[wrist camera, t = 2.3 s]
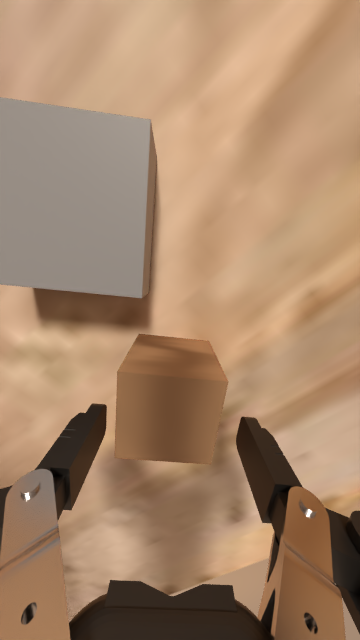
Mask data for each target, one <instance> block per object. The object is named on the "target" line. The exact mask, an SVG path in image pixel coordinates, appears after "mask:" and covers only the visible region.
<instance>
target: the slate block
mask: <svg viewBox="0 0 360 640" xmlns="http://www.w3.org/2000/svg"><path fill="white" fill-rule="evenodd" d="M156 162H157V155H156V149H155V143H154V137H153V131H152V125H151V120H150V119H143V118H136V117H130V116H123V115H116V114H109V113H103V112H96V111H89V110H82V109H76V108H69V107H62V106H56V105H49V104H42V103H35V102H29V101H22V100H15V99H8V98H2V97H0V284H1V285H11V286H22V287H32V288H42V289H52V290H62V291H73V292H83V293H93V294H103V295H113V296H124V297H134V298H143V297H144V296H145V295H146V294H148V293H149V282H150V265H151V248H152V231H153V214H154V197H155V179H156Z"/></svg>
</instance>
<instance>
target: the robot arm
mask: <svg viewBox="0 0 360 640" xmlns="http://www.w3.org/2000/svg"><path fill="white" fill-rule="evenodd" d="M106 410H107V407H106V405H105V404H91V406H90V407H89V409H88V410H87V412H86V413H79V414H78V415H76V416H75V417H74V418H73V419H71V421H70V422H69V423H68V425H67V426H66V428H65V430H63V432H62V433H61V434H60V437H58V439H57V440H56V441H55V443H54V444H53V446H52V447H51V448H50V450H49V451H48V453H47V454H46V455H45V457H44V458H43V460H42V461H41V462H40V464H39V465H38V467H37V468H36V469H35V470H34V471H31V472H29V473H27V474H26V475H24V476H23V477H21V478H20V479H19V480H18V481H17V482H16V483H15V484H14V485H12V486H10V487H7V488H3V489H0V640H346V636H345V625H344V614H343V604H342V598H343V600H344V602H345V604H346V606H347V608H348V611H349V613H350V615H351V617H352V619H353V621H354V623H355V625H356V627H357V629H358V632H359V633H360V511H354V512H352V514H351V516H350V518H348V517H346V516H343V515H341V514H338V513H336V512H334V511H331V510H329V509H327V508H325V507H324V506H323V504H322V503H321V502H320V500H319V499H318V498H317V497H316V496H315V495H314V494H312V493H311V492H310V491H308V490H306V489H304V488H303V487H302V485H301V483H300V482H299V480H298V478H297V476H296V475H295V473H294V471H293V470H292V468H291V466H290V465H289V463H288V461H287V459H286V458H285V456H284V455H283V453H282V451H281V449H280V448H279V447H278V444H277V442H276V441H275V439H274V437H273V436H272V435H271V434H270V433H269V432H268V431H267V430H266V429H265V428H261V426H260V425H259V423H258V421H257V419H256V418H251V417H242V418H241V420H240V424H239V428H238V433H237V437H236V445H237V450H238V453H239V456H240V458H241V461H242V464H243V467H244V470H245V473H246V476H247V479H248V482H249V485H250V488H251V491H252V494H253V497H254V500H255V503H256V505H257V508H258V511H259V514H260V517H261V520H262V523H272V526H273V529H274V534H273V538H272V544H271V550H270V556H269V563H268V568H267V574H266V580H265V587H264V591H263V595H262V599H261V603H260V607H259V611H258V616H257V617H256V616H255V615H254V614H253V613H252V612H251V611H250V610H249V609H248V608H247V607H246V606H244V605H243V604H241V603H240V602H239V601H237V600H235V598H234V593H233V587H232V585H210V584H202V585H200V586H198V587H195V588H193V589H190V590H188V591H186V592H184V593H181V594H179V595H176V596H168V595H166V594H164V593H163V592H161V591H159V590H157V589H155V588H153V587H151V586H149V585H147V584H145V583H143V582H141V581H118V580H110V583H109V588H108V593H107V594H104V595H102V596H100V597H98V598H97V599H95V600H93V601H92V602H91V603H89V604H88V605H87V606H85V607H84V608H83V609H82V610H81V611H80V612H79V613H78V614H77V615H76V616H75V617H74V618H73V619H72V620H71V621H70V623H69V620H68V611H67V602H66V592H65V583H64V574H63V564H62V555H61V545H60V536H59V530H58V519H59V517H60V515H61V513H62V511H63V510H72V508H73V506H74V503H75V501H76V499H77V497H78V494H79V492H80V490H81V487H82V485H83V483H84V481H85V478H86V476H87V474H88V472H89V469H90V467H91V465H92V463H93V460H94V458H95V456H96V454H97V451H98V449H99V447H100V445H101V442H102V440H103V438H104V435H105V431H106ZM334 583H336V585H335V584H334Z"/></svg>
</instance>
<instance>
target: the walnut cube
mask: <svg viewBox="0 0 360 640" xmlns="http://www.w3.org/2000/svg"><path fill="white" fill-rule="evenodd" d="M227 385H228V380H227V378H226V376H225V374H224V372H223V370H222V367H221V365H220V363H219V361H218V359H217V357H216V355H215V353H214V351H213V348H212V346H211V344H210V342H209V341H203V340H193V339H183V338H174V337H164V336H154V335H145V334H139V335H138V336H137V338H136V340H135V342H134V343H133V345H132V347H131V349H130V350H129V352H128V354H127V356H126V357H125V359H124V361H123V363H122V364H121V366H120V368H119V370H118V371H117V399H116V429H115V458H121V459H137V460H152V461H167V462H182V463H197V464H211V460H212V455H213V451H214V446H215V441H216V437H217V432H218V427H219V423H220V418H221V413H222V409H223V404H224V399H225V395H226V390H227Z"/></svg>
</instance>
